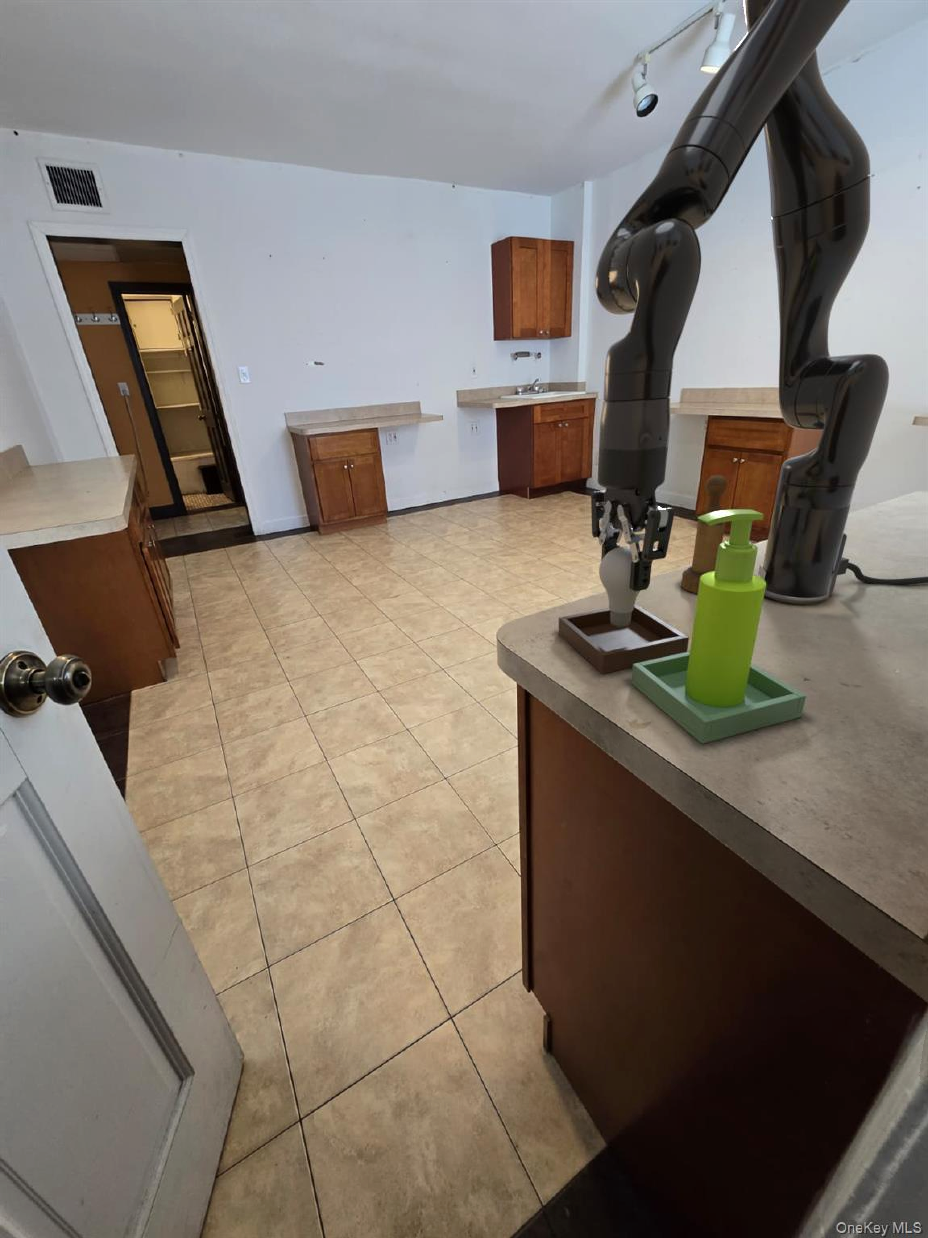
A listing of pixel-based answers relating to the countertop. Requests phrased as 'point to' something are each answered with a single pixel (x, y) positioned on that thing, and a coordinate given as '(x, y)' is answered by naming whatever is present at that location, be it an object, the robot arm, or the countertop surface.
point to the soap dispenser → (726, 616)
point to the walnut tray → (621, 638)
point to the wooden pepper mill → (706, 538)
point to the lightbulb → (618, 585)
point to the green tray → (709, 723)
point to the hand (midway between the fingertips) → (623, 580)
